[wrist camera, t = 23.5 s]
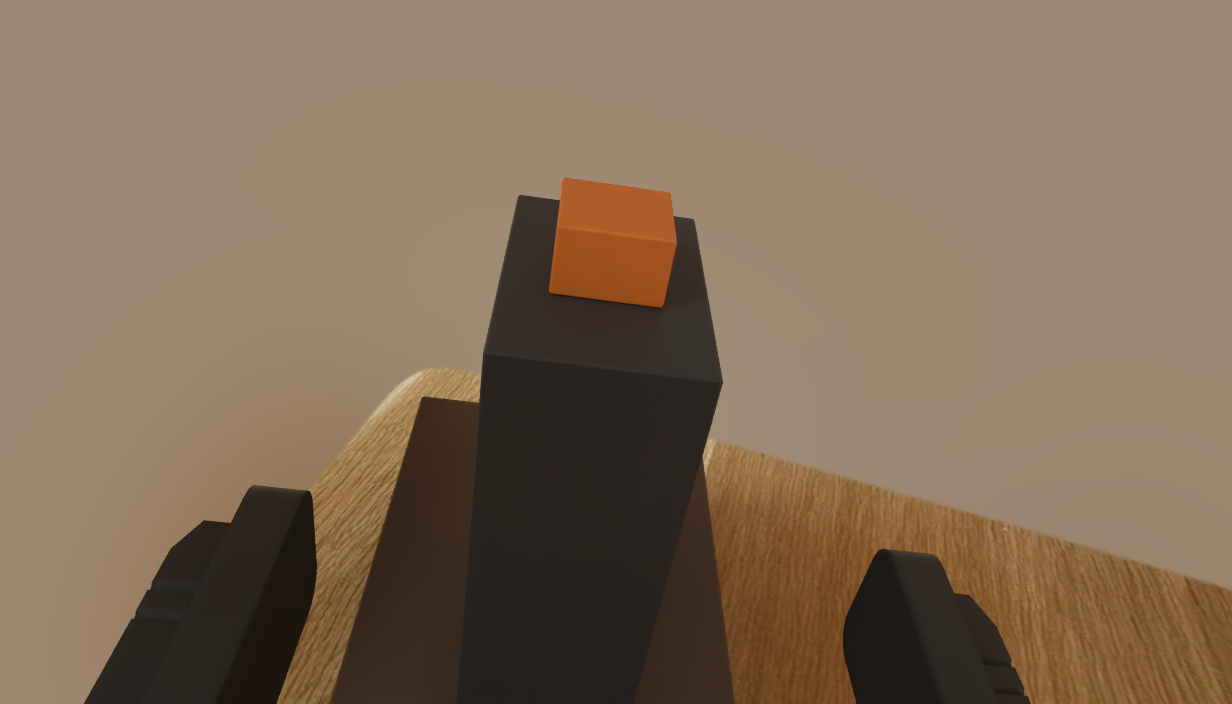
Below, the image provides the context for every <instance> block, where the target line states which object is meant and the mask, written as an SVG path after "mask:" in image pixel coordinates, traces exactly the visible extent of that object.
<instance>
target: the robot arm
mask: <svg viewBox="0 0 1232 704" xmlns="http://www.w3.org/2000/svg"><path fill="white" fill-rule="evenodd" d="M316 574H317V560H316V545H315V529H314V514H313V500H312V495H311V493H310V491H304V490H294V489H284V488H275V487H266V486H256V485H253V486H251V487H250V488H249V489H248V491H247V493H246V494H245V496H244V498H243V500H242V502H241V504H240V506H239V508H238V510H237V512H236V514H235V516H234V518H233V520H232V522H231V523H225V522H214V521H205V520H204V521H203V522H201V524H199V525H198V526H197V527H196V528H194V529H193V530H192V531H191V532H190V533H189V534H187V535H186V536H185V537H184V538H183V539H182V540H181V541H179V542H178V543H177V544H176V545H174V546H173V547H172V548H171V549H170V551H169V553H168V555H167V556H166V558H165V560H164V562H163V564H162V565H161V567H160V569H159V571H158V572H157V574H156V576H155V578H154V580H153V581H152V586H151V589H150V590H147V592H146V594H145V596H144V597H143V599H142V601H141V603H140V605H139V606H138V608H137V610H136V615H135V618H134V619H131V621H130V623H129V624H128V626H127V628H126V630H125V631H124V633H123V635H122V637H121V638H120V640H119V642H118V644H117V646H116V647H115V649H114V651H113V653H112V655H111V656H110V658H109V660H108V662H107V663H106V665H105V667H104V669H103V671H102V673H101V674H100V676H99V678H98V680H97V681H96V683H95V685H94V687H93V688H92V690H91V692H90V694H89V696H88V697H87V699H86V701H85V703H84V704H277V701H278V698H279V695H280V692H281V690H282V687H283V684H284V681H285V678H286V675H287V673H288V670H289V667H290V664H291V661H292V659H293V656H294V653H295V650H296V647H297V644H298V642H299V639H300V636H301V633H302V630H303V628H304V625H305V622H306V619H307V616H308V613H309V610H310V607H311V603H312V599H313V595H314V590H315V583H316ZM843 649H844V656H845V661H846V665H847V669H848V672H849V676H850V680H851V684H852V688H853V691H854V695H855V699H856V703H857V704H1031V703H1030V701H1029V698H1028V696H1025V695H1024V687H1023V685H1022V683H1021V680H1020V678H1019V676H1018V674H1017V672H1016V669H1015V668H1013V667H1012V666H1011V661H1012V660H1011V658H1010V656H1009V654H1008V652H1007V649H1006V647H1005V645H1004V643H1003V640H1002V638H1001V636H1000V634H999V631H998V629H997V627H996V626H995V624H994V623H993V622H992V621H991V620H990V619H989V618H988V616H987V615H986V614H985V613H984V612H983V611H982V609H981V608H980V607H979V606H978V605H977V604H976V603H975V601H974V600H973V599H972V598H971V597H970V596H969V595H964V594H954V592H953V590H952V588H951V585H950V583H949V580H948V578H947V576H946V573H945V571H944V568H943V566H942V564H941V562H940V560H939V559H938V558H937V557H936V556H935V555H933V554H926V553H917V552H907V551H898V550H888V549H881V550H879V551H878V552H877V553H876V554H875V556H874V558H873V560H872V562H871V564H870V566H869V569H868V571H867V573H866V575H865V577H864V579H863V581H862V584H861V586H860V588H859V590H858V592H857V594H856V596H855V599H854V601H853V603H852V605H851V607H850V609H849V611H848V614H847V616H846V620H845V624H844V631H843Z"/></svg>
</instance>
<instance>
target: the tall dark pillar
mask: <svg viewBox="0 0 1232 704" xmlns="http://www.w3.org/2000/svg"><path fill="white" fill-rule="evenodd" d="M722 384H723V380H722V374H721V368H720V363H719V357H718V352H717V346H716V340H715V335H714V329H713V323H712V318H711V312H710V306H709V300H708V295H707V289H706V283H705V278H704V272H703V267H702V261H701V255H700V249H699V244H698V238H697V232H696V227H695V222H694V220H693V219H689V218H682V217H675V216H673V209H672V201H671V194H670V193H669V192H662V191H655V190H648V189H641V188H634V187H627V186H620V185H613V184H606V183H599V182H592V181H585V180H578V179H571V178H564V179H563V181H562V190H561V197H560V200H553V199H545V198H539V197H531V196H524V195H519V196H518V199H517V204H516V208H515V213H514V217H513V221H512V226H511V230H510V235H509V240H508V244H507V249H506V253H505V257H504V262H503V267H502V271H501V275H500V280H499V284H498V290H497V293H496V298H495V303H494V307H493V311H492V316H491V320H490V325H489V329H488V334H487V338H486V343H485V348H484V352H483V364H482V375H481V388H480V401H479V414H478V426H477V439H476V452H475V465H474V477H473V490H472V503H471V516H470V528H469V541H468V554H467V567H466V579H465V592H464V605H463V618H462V630H461V643H460V656H459V669H458V682H457V694H456V704H634V702H635V698H636V695H637V691H638V688H639V684H640V680H641V677H642V673H643V670H644V666H645V662H646V659H647V655H648V651H649V648H650V644H651V641H652V637H653V633H654V630H655V626H656V623H657V619H658V615H659V612H660V608H661V604H662V601H663V597H664V594H665V590H666V586H667V583H668V579H669V575H670V572H671V568H672V565H673V561H674V557H675V554H676V550H677V547H678V543H679V539H680V536H681V532H682V528H683V525H684V521H685V518H686V514H687V510H688V507H689V503H690V500H691V496H692V492H693V489H694V485H695V481H696V478H697V474H698V471H699V467H700V463H701V460H702V456H703V453H704V449H705V445H706V442H707V438H708V434H709V431H710V427H711V424H712V420H713V416H714V413H715V409H716V405H717V402H718V398H719V394H720V391H721V387H722Z"/></svg>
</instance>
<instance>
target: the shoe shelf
mask: <svg viewBox="0 0 1232 704" xmlns="http://www.w3.org/2000/svg"><path fill="white" fill-rule="evenodd" d="M478 414H479V403H475V402H466V401H458V400H449V399H441V398H432V397H422V398H421V402H420V405H419V408H418V412H417V415H416V418H415V421H414V425H413V428H412V431H411V435H410V438H409V441H408V445H407V448H406V451H405V455H404V458H403V461H402V465H401V468H400V471H399V475H398V478H397V481H396V485H395V488H394V491H393V495H392V498H391V501H390V505H389V508H388V511H387V515H386V518H385V521H384V525H383V528H382V531H381V535H380V538H379V541H378V545H377V548H376V551H375V555H374V558H373V561H372V565H371V568H370V571H369V574H368V578H367V581H366V584H365V588H364V591H363V594H362V598H361V601H360V604H359V608H358V611H357V614H356V618H355V621H354V624H353V628H352V631H351V634H350V638H349V641H348V644H347V648H346V651H345V654H344V658H343V661H342V664H341V668H340V671H339V674H338V678H337V681H336V684H335V688H334V691H333V694H332V698H331V701H330V704H456V694H457V682H458V669H459V656H460V643H461V630H462V618H463V605H464V592H465V579H466V567H467V554H468V541H469V528H470V516H471V503H472V490H473V477H474V465H475V452H476V439H477V426H478ZM634 704H735V700H734V693H733V685H732V678H731V670H730V662H729V655H728V647H727V639H726V632H725V624H724V617H723V609H722V601H721V594H720V586H719V578H718V571H717V563H716V556H715V548H714V540H713V533H712V525H711V517H710V510H709V502H708V495H707V487H706V479H705V472H704V464H703V456H702V460H701V463H700V467H699V471H698V474H697V478H696V481H695V485H694V489H693V492H692V496H691V500H690V503H689V507H688V510H687V514H686V518H685V521H684V525H683V528H682V532H681V536H680V539H679V543H678V547H677V550H676V554H675V557H674V561H673V565H672V568H671V572H670V575H669V579H668V583H667V586H666V590H665V594H664V597H663V601H662V604H661V608H660V612H659V615H658V619H657V623H656V626H655V630H654V633H653V637H652V641H651V644H650V648H649V651H648V655H647V659H646V662H645V666H644V670H643V673H642V677H641V680H640V684H639V688H638V691H637V695H636V698H635V702H634Z"/></svg>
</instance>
